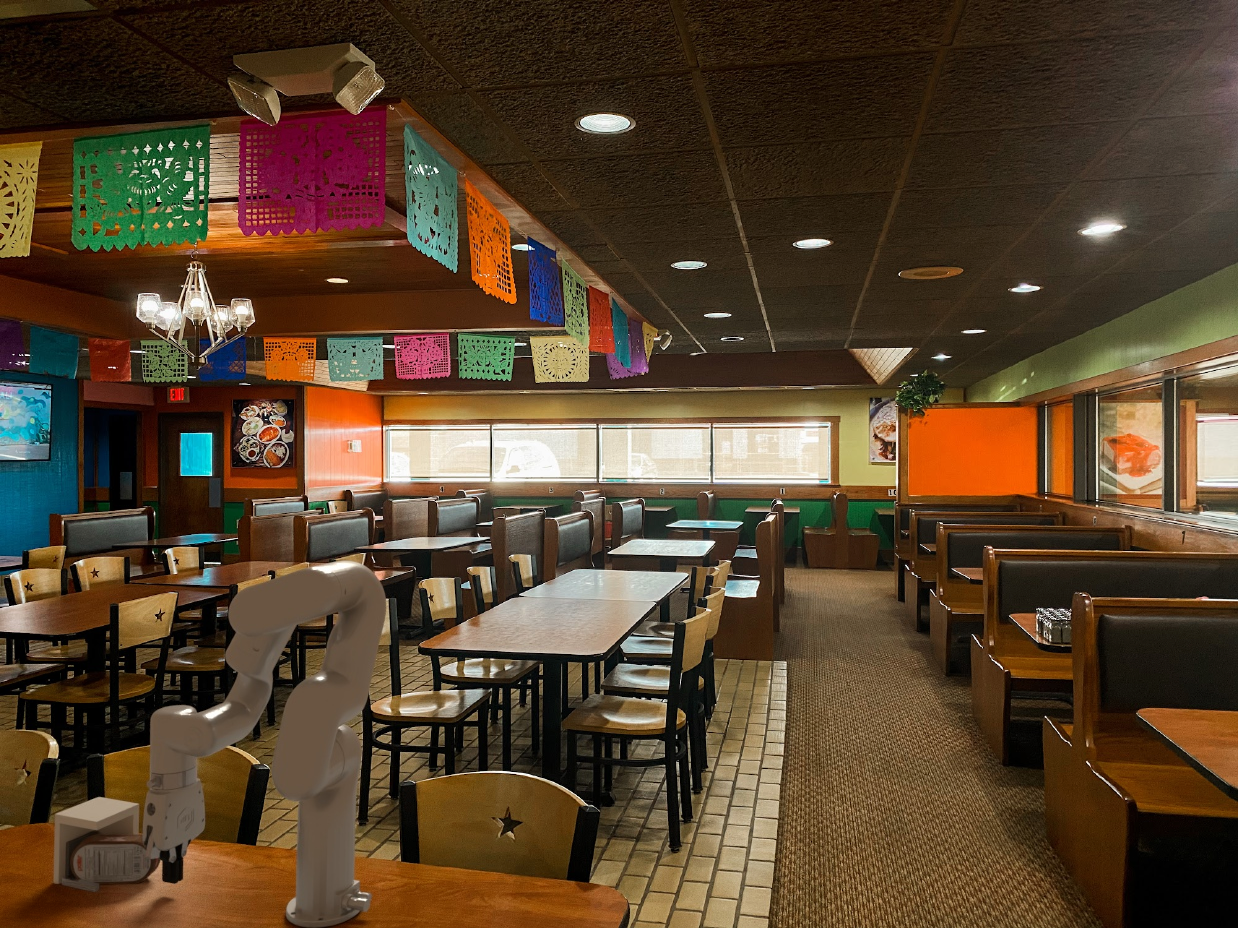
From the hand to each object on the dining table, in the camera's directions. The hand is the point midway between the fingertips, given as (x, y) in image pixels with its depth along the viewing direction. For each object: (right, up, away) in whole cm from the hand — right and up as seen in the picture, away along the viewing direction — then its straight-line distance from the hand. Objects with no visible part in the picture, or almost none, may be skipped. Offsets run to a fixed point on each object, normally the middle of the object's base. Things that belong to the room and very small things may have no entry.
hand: (172, 880), depth 155 cm
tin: (-13, -2, +4) cm, 13 cm away
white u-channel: (-17, -2, +6) cm, 18 cm away
